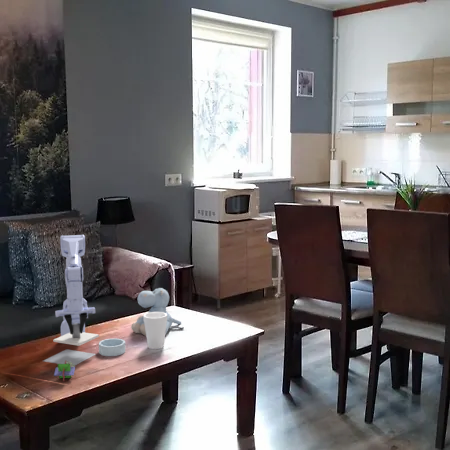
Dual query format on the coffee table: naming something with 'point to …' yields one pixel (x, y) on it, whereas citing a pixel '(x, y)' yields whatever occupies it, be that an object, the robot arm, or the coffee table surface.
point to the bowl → (112, 347)
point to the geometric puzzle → (65, 370)
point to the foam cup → (155, 329)
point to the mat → (69, 357)
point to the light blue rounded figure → (154, 308)
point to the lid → (76, 336)
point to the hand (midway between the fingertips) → (76, 333)
